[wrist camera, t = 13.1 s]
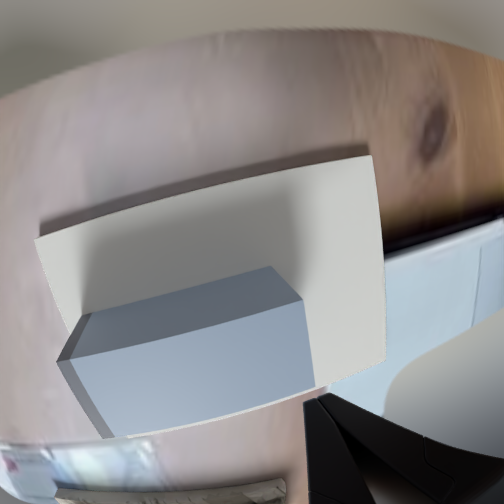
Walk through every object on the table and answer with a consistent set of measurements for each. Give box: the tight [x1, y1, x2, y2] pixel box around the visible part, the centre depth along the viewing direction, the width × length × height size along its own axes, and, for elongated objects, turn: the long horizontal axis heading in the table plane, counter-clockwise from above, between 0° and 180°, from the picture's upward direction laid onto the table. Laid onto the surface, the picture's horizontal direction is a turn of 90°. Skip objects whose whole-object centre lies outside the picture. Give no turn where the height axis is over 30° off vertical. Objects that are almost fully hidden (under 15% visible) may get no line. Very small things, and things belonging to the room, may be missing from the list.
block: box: [56, 266, 316, 439], centre depth 13 cm, size 4×4×9 cm
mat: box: [34, 155, 386, 438], centre depth 15 cm, size 16×12×1 cm
